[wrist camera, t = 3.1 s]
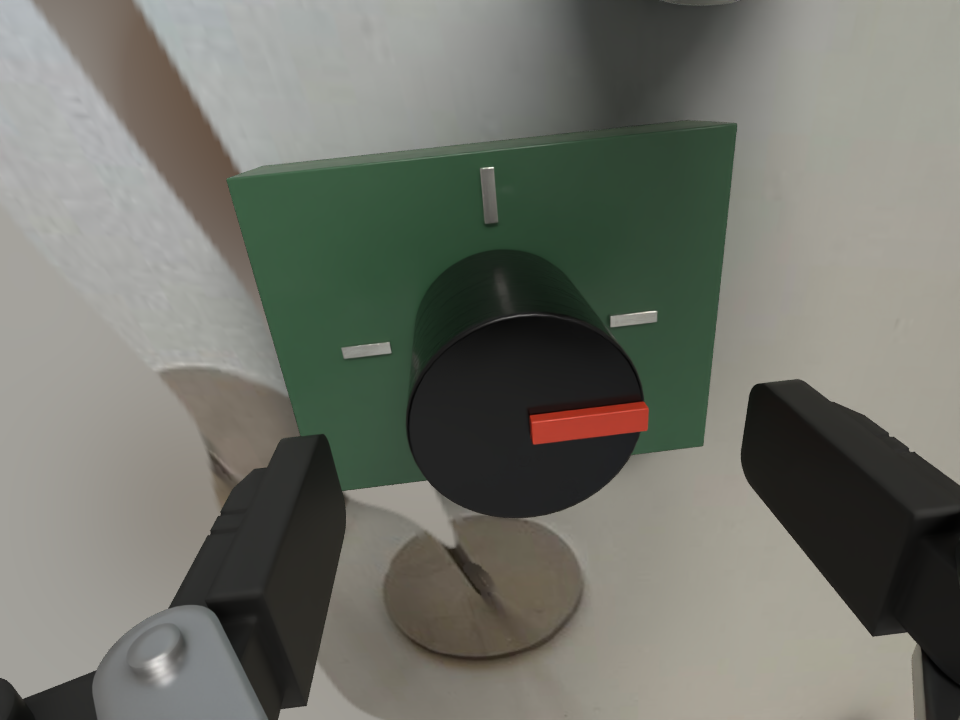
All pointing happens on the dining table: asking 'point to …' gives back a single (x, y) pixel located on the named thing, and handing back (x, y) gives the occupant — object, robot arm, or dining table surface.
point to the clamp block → (477, 228)
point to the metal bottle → (700, 2)
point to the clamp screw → (518, 389)
